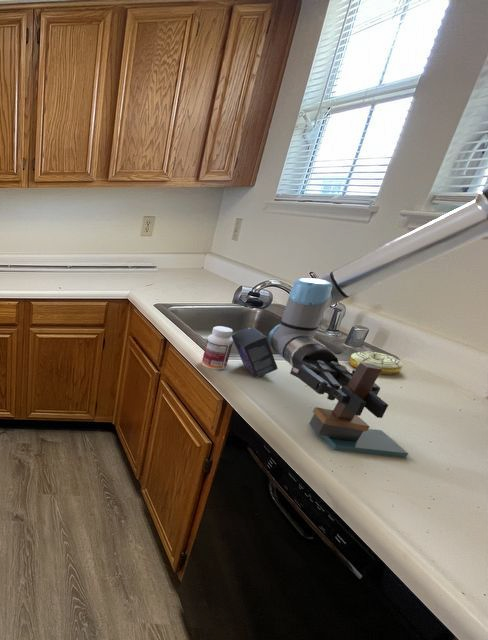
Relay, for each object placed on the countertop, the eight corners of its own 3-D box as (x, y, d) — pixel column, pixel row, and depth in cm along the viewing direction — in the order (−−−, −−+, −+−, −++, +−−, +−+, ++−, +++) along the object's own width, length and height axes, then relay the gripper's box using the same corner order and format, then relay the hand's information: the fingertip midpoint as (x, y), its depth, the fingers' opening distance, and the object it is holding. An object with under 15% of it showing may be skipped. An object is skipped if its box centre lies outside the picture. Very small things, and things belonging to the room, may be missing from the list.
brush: (346, 430, 85) (386, 364, 78) (359, 443, 81) (402, 374, 74) (306, 422, 86) (341, 357, 79) (317, 435, 82) (355, 367, 75)
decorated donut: (343, 358, 122) (348, 346, 120) (390, 365, 118) (395, 352, 116) (353, 372, 113) (358, 359, 112) (404, 379, 109) (410, 366, 107)
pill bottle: (212, 360, 120) (222, 324, 115) (230, 368, 115) (241, 331, 110) (196, 363, 118) (205, 326, 113) (213, 372, 113) (224, 334, 108)
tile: (378, 436, 85) (381, 430, 85) (404, 459, 78) (408, 453, 78) (313, 429, 88) (315, 423, 87) (333, 451, 81) (335, 445, 80)
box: (243, 366, 116) (230, 334, 113) (264, 357, 114) (251, 324, 111) (256, 378, 109) (242, 345, 106) (279, 369, 107) (265, 335, 104)
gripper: (343, 376, 95) (413, 433, 74) (267, 369, 98) (314, 422, 77) (356, 346, 92) (433, 396, 71) (277, 340, 95) (329, 386, 74)
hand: (371, 410), depth 74 cm, fingers closed on brush, 3 cm apart
